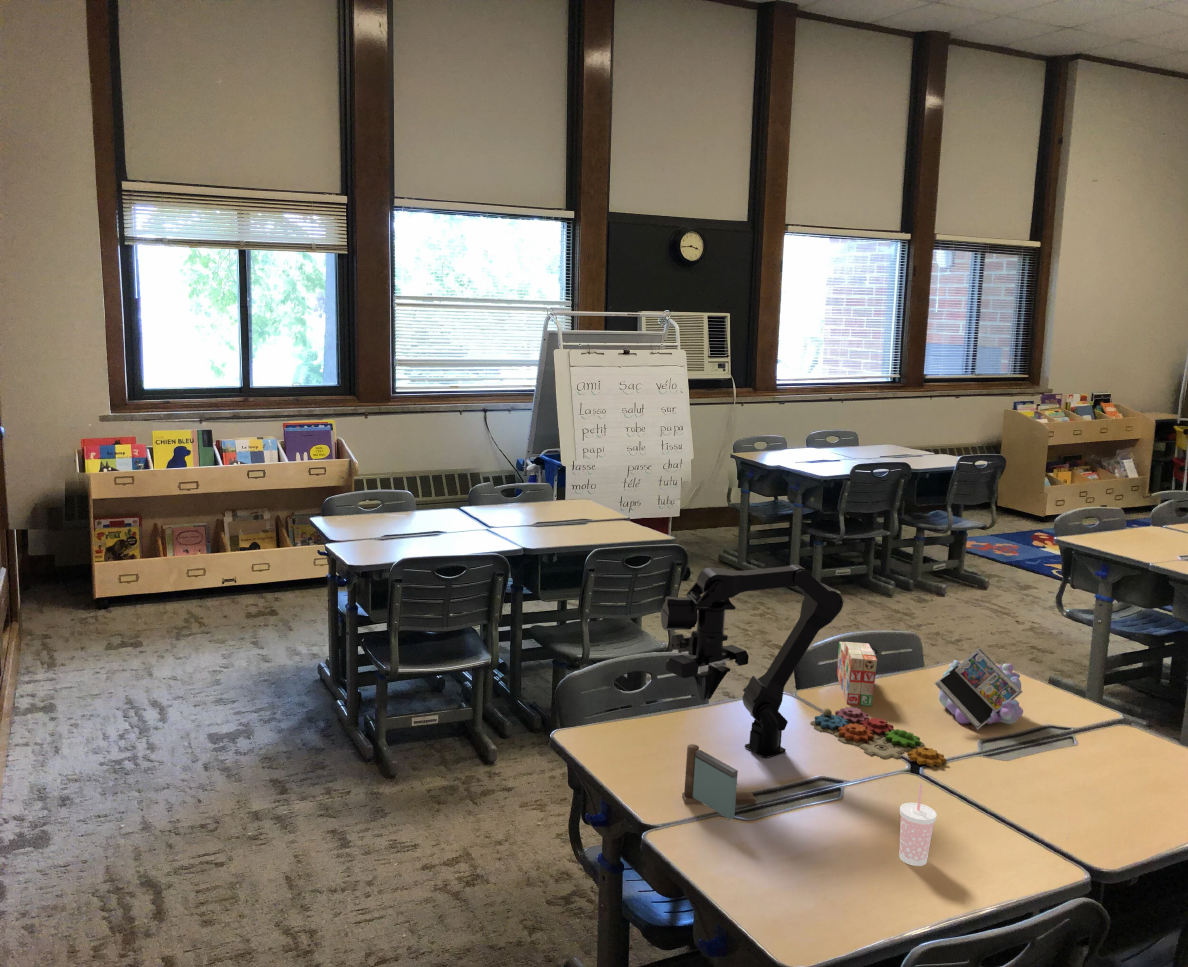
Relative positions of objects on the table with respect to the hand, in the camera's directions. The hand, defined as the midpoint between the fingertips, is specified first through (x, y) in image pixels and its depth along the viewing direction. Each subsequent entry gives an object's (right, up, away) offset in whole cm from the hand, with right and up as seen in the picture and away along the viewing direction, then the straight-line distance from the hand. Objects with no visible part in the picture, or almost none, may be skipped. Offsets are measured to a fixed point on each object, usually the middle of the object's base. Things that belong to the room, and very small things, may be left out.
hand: (705, 699), depth 207 cm
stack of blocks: (+43, -7, +43) cm, 61 cm away
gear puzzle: (+41, -13, +12) cm, 44 cm away
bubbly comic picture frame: (+69, -11, +28) cm, 76 cm away
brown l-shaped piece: (0, -15, -19) cm, 24 cm away
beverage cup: (+32, -20, -37) cm, 53 cm away
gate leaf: (-1, -15, -25) cm, 29 cm away
